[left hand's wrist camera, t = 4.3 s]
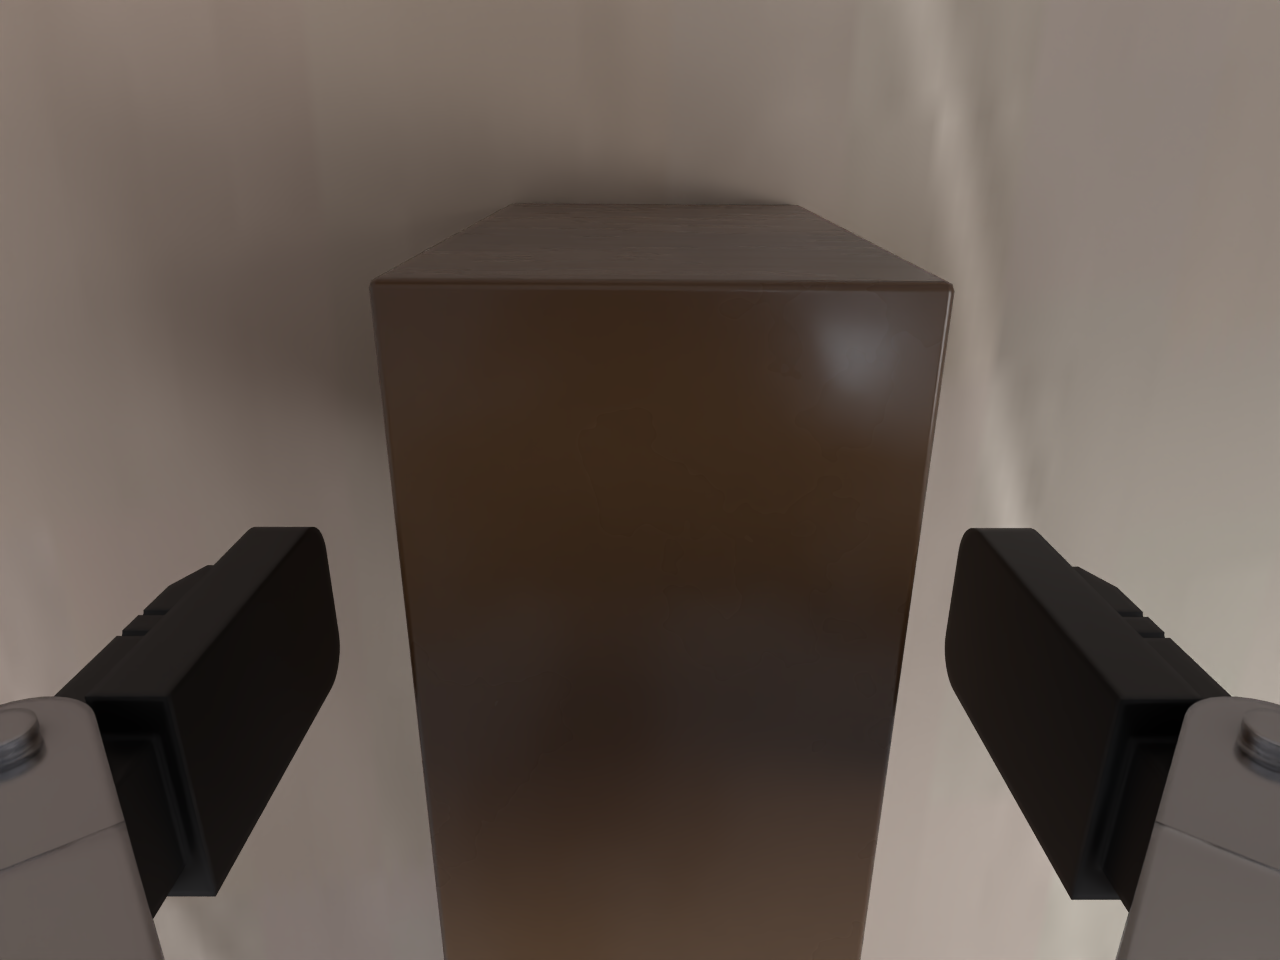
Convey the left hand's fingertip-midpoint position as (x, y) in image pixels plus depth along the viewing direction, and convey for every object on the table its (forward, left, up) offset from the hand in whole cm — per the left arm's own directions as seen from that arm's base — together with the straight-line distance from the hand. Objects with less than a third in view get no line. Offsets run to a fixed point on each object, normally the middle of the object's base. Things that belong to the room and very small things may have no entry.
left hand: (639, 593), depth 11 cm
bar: (+8, 0, -6) cm, 10 cm away
